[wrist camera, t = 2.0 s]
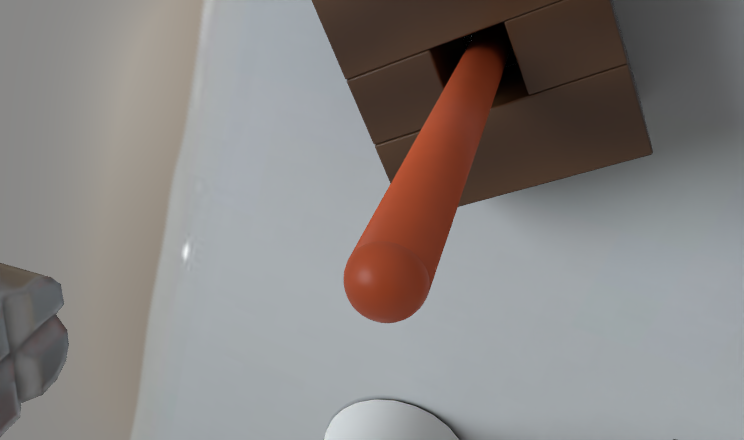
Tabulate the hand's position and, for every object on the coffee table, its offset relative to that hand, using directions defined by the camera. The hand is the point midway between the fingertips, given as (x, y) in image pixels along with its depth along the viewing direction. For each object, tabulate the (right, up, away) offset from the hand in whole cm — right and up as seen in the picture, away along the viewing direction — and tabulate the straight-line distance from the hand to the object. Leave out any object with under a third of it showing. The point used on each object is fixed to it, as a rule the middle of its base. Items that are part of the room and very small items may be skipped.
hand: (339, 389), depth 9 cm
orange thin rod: (+5, +9, +17) cm, 20 cm away
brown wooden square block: (+5, +9, +17) cm, 20 cm away
